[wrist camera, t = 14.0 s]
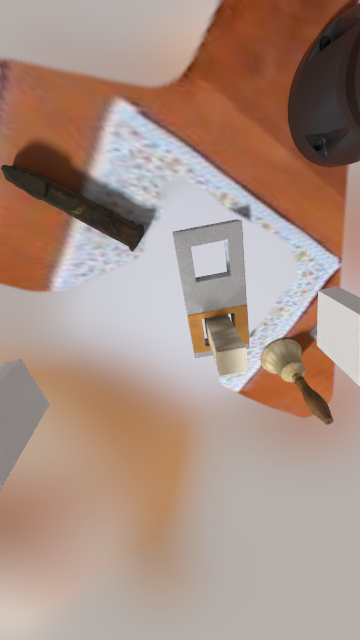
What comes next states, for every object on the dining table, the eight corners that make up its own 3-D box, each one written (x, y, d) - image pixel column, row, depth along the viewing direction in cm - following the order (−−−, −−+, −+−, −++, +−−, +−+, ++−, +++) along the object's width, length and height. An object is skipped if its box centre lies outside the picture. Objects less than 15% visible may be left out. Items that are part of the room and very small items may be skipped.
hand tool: (147, 226, 37) (145, 229, 33) (135, 249, 38) (132, 255, 34) (19, 147, 32) (-3, 138, 28) (10, 177, 33) (-12, 173, 29)
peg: (225, 311, 44) (246, 347, 33) (227, 330, 46) (247, 370, 35) (203, 315, 44) (216, 352, 33) (206, 334, 46) (219, 375, 35)
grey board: (237, 219, 37) (242, 220, 35) (245, 341, 47) (249, 349, 44) (172, 231, 37) (173, 234, 35) (193, 350, 47) (195, 358, 45)
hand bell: (306, 361, 50) (364, 426, 36) (268, 378, 51) (309, 447, 37) (294, 330, 46) (352, 388, 32) (254, 350, 48) (292, 414, 34)
